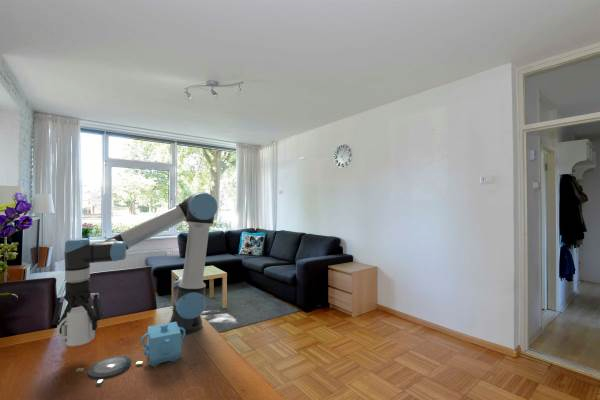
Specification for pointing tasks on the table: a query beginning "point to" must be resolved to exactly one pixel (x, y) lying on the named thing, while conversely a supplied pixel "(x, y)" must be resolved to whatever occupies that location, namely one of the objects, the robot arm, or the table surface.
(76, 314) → the mug
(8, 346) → the table surface
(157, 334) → the teapot
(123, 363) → the socket pad
